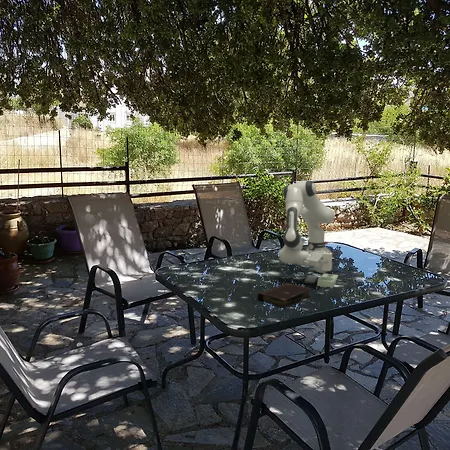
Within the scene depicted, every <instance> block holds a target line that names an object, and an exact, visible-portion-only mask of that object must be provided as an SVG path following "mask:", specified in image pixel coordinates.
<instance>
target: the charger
mask: <svg viewBox="0 0 450 450" xmlns="http://www.w3.org/2000/svg"><path fill="white" fill-rule="evenodd" d="M330 251H331V250H330ZM330 251H328V252H327V251H326V252H324V253H323V260H328V263H327V264H326V263H324V264H323V268H322V270H325V271H328V272H331V271H332V269H331V266H332V267H333V262H332V261H333V260H332V257H333V252H331V253H330Z"/></svg>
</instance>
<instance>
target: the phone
mask: <svg viewBox="0 0 450 450" xmlns="http://www.w3.org/2000/svg"><path fill="white" fill-rule="evenodd" d="M318 279H319V275H313V274H311V275H310V274H309V275H308V276H307V277H306V278H305V280H303V281H304V284H312V283H313V284H314V283H315V284H316V283H317V281H318ZM316 280H317V281H316ZM313 284H312V285H313Z"/></svg>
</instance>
